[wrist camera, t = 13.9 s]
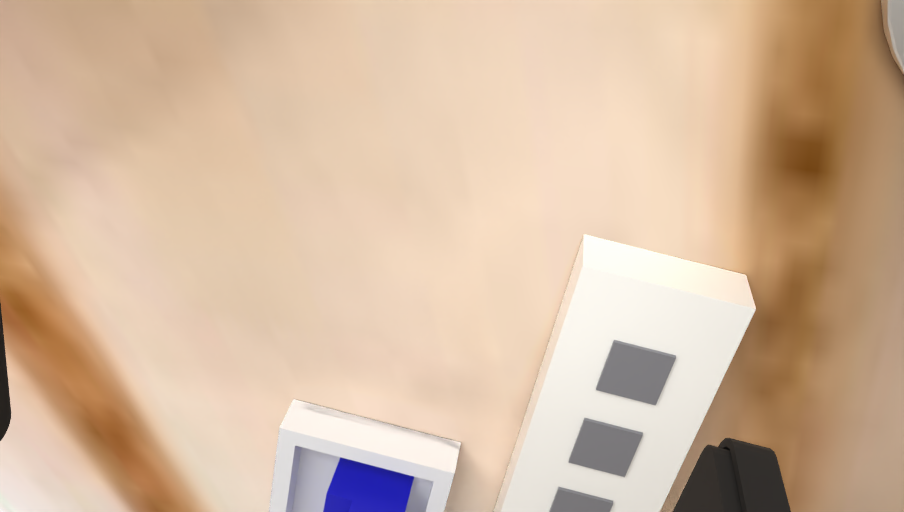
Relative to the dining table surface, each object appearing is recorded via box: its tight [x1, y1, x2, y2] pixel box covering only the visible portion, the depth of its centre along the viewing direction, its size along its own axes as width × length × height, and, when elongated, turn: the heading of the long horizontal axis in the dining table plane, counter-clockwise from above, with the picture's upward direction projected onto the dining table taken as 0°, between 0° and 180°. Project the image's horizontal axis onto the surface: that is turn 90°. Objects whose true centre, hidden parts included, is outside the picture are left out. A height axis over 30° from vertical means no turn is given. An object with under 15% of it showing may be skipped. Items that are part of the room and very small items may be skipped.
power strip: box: [493, 234, 756, 512], centre depth 45 cm, size 8×24×4 cm, turn 168°
